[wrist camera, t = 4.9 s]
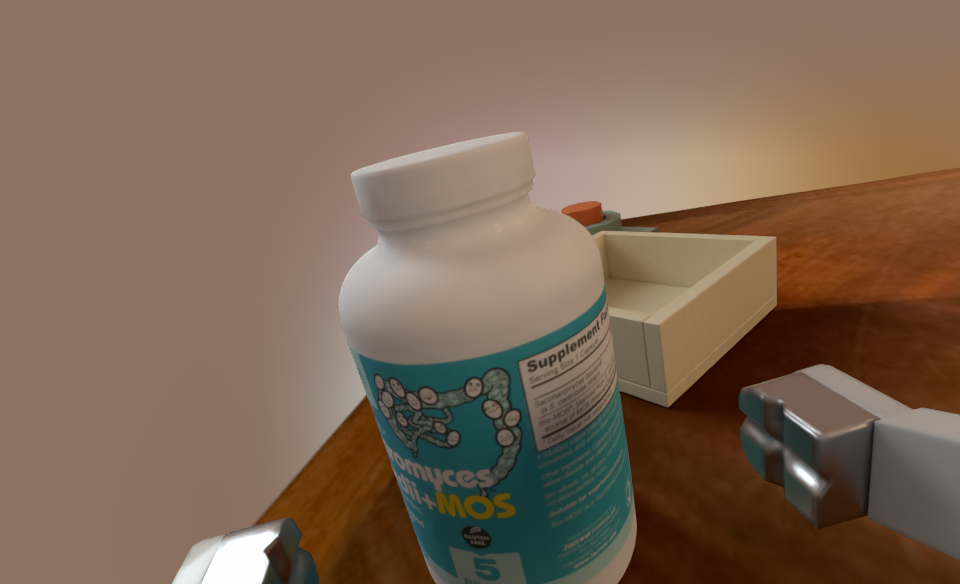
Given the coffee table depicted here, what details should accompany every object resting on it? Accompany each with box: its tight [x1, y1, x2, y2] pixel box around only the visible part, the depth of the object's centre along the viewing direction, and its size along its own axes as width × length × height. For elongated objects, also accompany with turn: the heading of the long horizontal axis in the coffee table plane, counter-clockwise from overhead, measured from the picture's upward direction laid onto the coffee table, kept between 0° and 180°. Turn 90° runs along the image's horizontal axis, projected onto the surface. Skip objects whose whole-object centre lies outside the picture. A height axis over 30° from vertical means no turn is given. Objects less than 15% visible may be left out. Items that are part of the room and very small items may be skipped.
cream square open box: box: [592, 231, 777, 407], centre depth 29 cm, size 12×12×4 cm
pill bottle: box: [339, 132, 637, 584], centre depth 15 cm, size 8×7×14 cm
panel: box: [584, 211, 658, 236], centre depth 44 cm, size 10×8×4 cm
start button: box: [561, 201, 603, 226], centre depth 43 cm, size 4×4×2 cm
